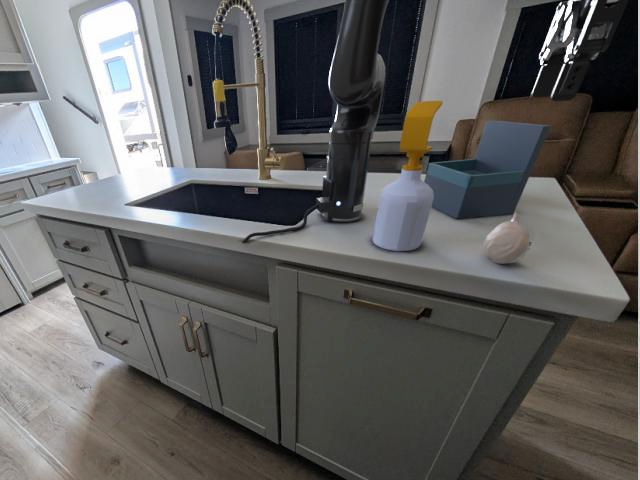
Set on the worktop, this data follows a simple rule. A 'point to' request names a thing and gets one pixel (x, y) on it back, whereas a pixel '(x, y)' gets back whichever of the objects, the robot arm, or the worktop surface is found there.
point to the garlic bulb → (507, 242)
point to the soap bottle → (408, 187)
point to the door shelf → (488, 172)
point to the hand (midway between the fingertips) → (549, 98)
